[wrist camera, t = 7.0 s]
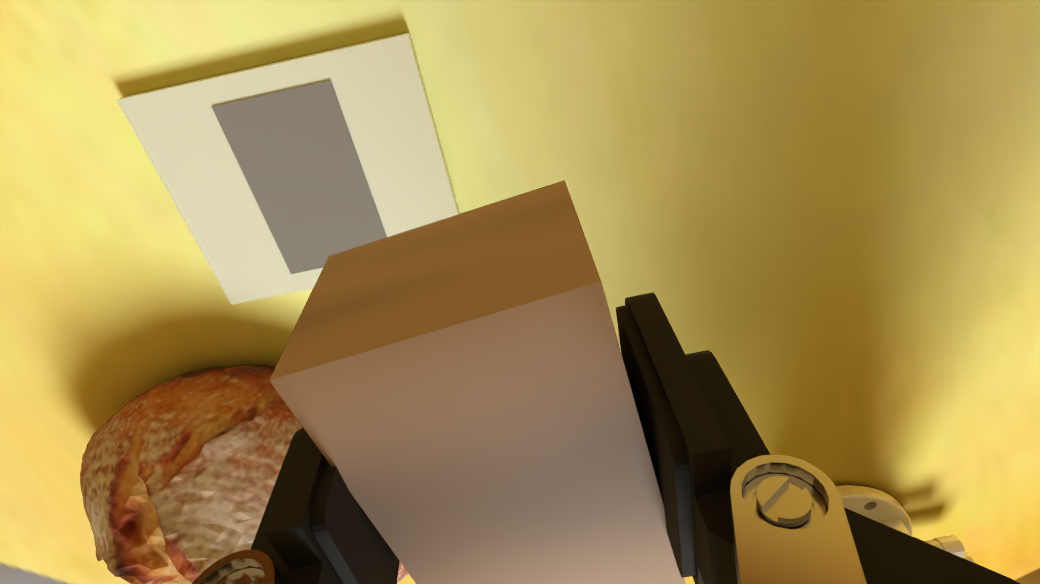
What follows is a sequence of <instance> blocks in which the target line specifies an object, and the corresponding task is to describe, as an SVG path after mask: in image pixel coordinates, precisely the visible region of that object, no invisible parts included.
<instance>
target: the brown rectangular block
mask: <svg viewBox="0 0 1040 584" xmlns="http://www.w3.org/2000/svg"><path fill="white" fill-rule="evenodd" d="M269 381H270V382H271V384H272V385H273V386H274V388H275V389H276V390H277V392H278V393H279V395H280V396H281V397H282V399H283V400H284V402H285V403H286V404H287V406H288V407H289V408H290V410H291V411H292V413H293V414H294V415H295V417H296V418H297V419H298V421H299V422H300V424H301V425H302V426H303V428H304V429H305V431H306V432H307V433H308V435H309V436H310V437H311V439H312V440H313V442H314V443H315V444H316V446H317V447H318V449H319V450H320V451H321V453H322V454H323V455H324V457H325V458H326V460H327V461H328V462H329V464H330V465H331V467H335V466H336V467H337V469H338V471H339V473H340V474H341V476H342V478H343V480H344V482H345V484H346V486H347V487H348V489H349V491H350V493H351V494H352V496H353V497H354V498H355V500H356V501H357V502H358V504H359V505H360V507H361V508H362V509H363V511H364V512H365V514H366V515H367V516H368V518H369V519H370V520H371V522H372V523H373V525H374V526H375V527H376V529H377V530H378V531H379V533H380V534H381V536H382V537H383V538H384V540H385V541H386V543H387V544H388V545H389V547H390V548H391V549H392V551H393V552H394V554H395V555H396V556H397V558H398V559H399V561H400V562H401V563H402V565H403V566H404V567H405V569H406V570H407V572H408V573H409V574H410V576H411V577H412V579H413V580H414V581H415V583H416V584H686V583H685V580H684V577H683V578H682V577H681V575H680V572H679V569H678V566H677V563H676V560H675V557H674V554H673V551H672V548H671V544H670V541H669V538H668V535H667V530H666V519H665V509H664V505H663V501H662V498H661V494H660V490H659V487H658V483H657V480H656V476H655V473H654V469H653V465H652V462H651V458H650V455H649V451H648V448H647V444H646V440H645V437H644V433H643V430H642V426H641V423H640V419H639V415H638V412H637V408H636V405H635V401H634V398H633V394H632V390H631V387H630V383H629V380H628V376H627V372H626V369H625V365H624V362H623V358H622V355H621V351H620V347H619V344H618V340H617V337H616V333H615V330H614V326H613V322H612V319H611V315H610V312H609V308H608V305H607V301H606V297H605V294H604V290H603V287H602V283H601V280H600V277H599V274H598V272H597V269H596V266H595V263H594V261H593V258H592V255H591V252H590V249H589V247H588V244H587V241H586V238H585V236H584V233H583V230H582V227H581V225H580V222H579V219H578V216H577V213H576V211H575V208H574V205H573V202H572V200H571V197H570V194H569V191H568V189H567V186H566V183H565V180H564V181H561V182H558V183H555V184H552V185H549V186H545V187H542V188H539V189H536V190H533V191H530V192H527V193H524V194H520V195H517V196H514V197H511V198H508V199H505V200H502V201H499V202H496V203H492V204H489V205H486V206H483V207H480V208H477V209H474V210H471V211H467V212H464V213H461V214H458V215H455V216H452V217H449V218H446V219H443V220H439V221H436V222H433V223H430V224H427V225H424V226H421V227H418V228H414V229H411V230H408V231H405V232H402V233H399V234H396V235H393V236H390V237H386V238H383V239H380V240H377V241H374V242H371V243H368V244H365V245H361V246H358V247H355V248H352V249H349V250H346V251H343V252H340V253H337V254H333V255H330V256H328V259H327V261H326V263H325V265H324V267H323V269H322V271H321V273H320V275H319V277H318V279H317V282H316V284H315V286H314V288H313V290H312V292H311V294H310V296H309V298H308V300H307V303H306V305H305V307H304V309H303V311H302V313H301V315H300V317H299V319H298V321H297V323H296V326H295V328H294V330H293V332H292V334H291V336H290V338H289V340H288V342H287V344H286V347H285V349H284V351H283V353H282V355H281V357H280V359H279V361H278V363H277V365H276V367H275V370H274V372H273V374H272V376H271V378H270V380H269Z"/></svg>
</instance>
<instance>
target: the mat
mask: <svg viewBox="0 0 1040 584" xmlns="http://www.w3.org/2000/svg"><path fill="white" fill-rule="evenodd" d="M117 101H118V103H119V105H120V106H121V108H122V110H123V112H124V114H125V115H126V117H127V119H128V121H129V123H130V124H131V126H132V128H133V130H134V131H135V133H136V135H137V137H138V139H139V140H140V142H141V144H142V146H143V148H144V149H145V151H146V153H147V155H148V157H149V158H150V160H151V162H152V164H153V166H154V167H155V169H156V171H157V173H158V174H159V176H160V178H161V180H162V182H163V183H164V185H165V187H166V189H167V191H168V192H169V194H170V196H171V198H172V200H173V201H174V203H175V205H176V207H177V209H178V210H179V212H180V214H181V216H182V217H183V219H184V221H185V223H186V225H187V226H188V228H189V230H190V232H191V234H192V235H193V237H194V239H195V241H196V243H197V244H198V246H199V248H200V250H201V252H202V253H203V255H204V257H205V259H206V260H207V262H208V264H209V266H210V268H211V269H212V271H213V273H214V275H215V277H216V278H217V280H218V282H219V284H220V286H221V287H222V289H223V291H224V293H225V295H226V296H227V298H228V300H229V302H230V303H231V305H233V304H238V303H243V302H248V301H253V300H258V299H262V298H267V297H272V296H277V295H282V294H287V293H292V292H296V291H301V290H306V289H311V288H314V286H315V284H316V282H317V279H318V277H319V275H320V273H321V271H322V269H323V267H324V265H325V263H326V261H327V259H328V256H330V255H333V254H337V253H340V252H343V251H346V250H349V249H352V248H355V247H358V246H361V245H365V244H368V243H371V242H374V241H377V240H380V239H383V238H386V237H390V236H393V235H396V234H399V233H402V232H405V231H408V230H411V229H414V228H418V227H421V226H424V225H427V224H430V223H433V222H436V221H439V220H443V219H446V218H449V217H452V216H455V215H458V214H460V213H459V210H458V206H457V202H456V199H455V195H454V191H453V188H452V184H451V181H450V177H449V173H448V170H447V166H446V162H445V159H444V155H443V152H442V148H441V144H440V141H439V137H438V133H437V130H436V126H435V123H434V119H433V115H432V112H431V108H430V104H429V101H428V97H427V94H426V90H425V86H424V83H423V79H422V76H421V72H420V68H419V65H418V61H417V57H416V54H415V50H414V47H413V43H412V39H411V36H410V32H408V33H403V34H399V35H394V36H390V37H386V38H381V39H377V40H372V41H368V42H364V43H359V44H355V45H350V46H346V47H342V48H337V49H333V50H328V51H324V52H320V53H315V54H311V55H306V56H302V57H297V58H293V59H289V60H284V61H280V62H275V63H271V64H267V65H262V66H258V67H253V68H249V69H245V70H240V71H236V72H231V73H227V74H223V75H218V76H214V77H209V78H205V79H201V80H196V81H192V82H187V83H183V84H178V85H174V86H170V87H165V88H161V89H156V90H152V91H148V92H143V93H139V94H134V95H130V96H126V97H123V98H121V99H118V100H117Z"/></svg>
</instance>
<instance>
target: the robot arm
mask: <svg viewBox="0 0 1040 584" xmlns="http://www.w3.org/2000/svg"><path fill="white" fill-rule="evenodd" d="M616 314H617V322H618V330H619V337H620V345H621V353H622V358H623V362H624V365H625V369H626V372H627V376H628V380H629V383H630V387H631V390H632V394H633V398H634V401H635V405H636V408H637V412H638V415H639V419H640V423H641V426H642V430H643V433H644V437H645V440H646V444H647V448H648V451H649V455H650V458H651V462H652V465H653V469H654V473H655V476H656V480H657V483H658V487H659V490H660V494H661V498H662V501H663V505H664V509H665V519H666V530H667V535H668V538H669V541H670V544H671V548H672V551H673V554H674V557H675V560H676V563H677V566H678V569H679V572H680V575H681V577H682V578H683V577H689V576H693V579H694V582H695V584H1020V583H1018V582H1016V581H1014V580H1012V579H1010V578H1008V577H1006V576H1003V575H1001V574H999V573H996V572H994V571H992V570H989V569H987V568H985V567H982V566H980V565H978V564H975V562H974V561H973V559H972V558H971V556H970V555H969V554H968V553H967V552H965V549H964V546H963V544H962V543H961V541H960V540H959V539H958V538H957V537H956V536H953V535H951V536H945V537H939V538H934V539H933V540H928V541H922V540H920V539H919V538H915V537H913V536H912V524H911V521H910V518H909V516H908V514H907V513H906V512H905V510H904V509H903V508H902V506H901V505H900V503H899V502H898V501H896V500H895V499H894V498H893V497H892V496H891V495H889V494H887V493H885V492H883V491H881V490H877V489H874V488H870V487H865V486H854V485H842V486H835V484H834V483H833V482H832V481H831V480H830V478H829V477H828V476H827V475H826V474H825V473H824V472H823V471H821V470H820V469H818V468H817V467H815V466H813V465H812V464H810V463H809V462H806V461H804V460H801V459H798V458H795V457H792V456H785V455H778V454H773V455H770V453H769V451H768V450H767V448H766V446H765V444H764V443H763V441H762V439H761V437H760V436H759V434H758V432H757V430H756V429H755V427H754V425H753V423H752V421H751V420H750V418H749V416H748V414H747V413H746V411H745V409H744V407H743V406H742V404H741V402H740V400H739V399H738V397H737V395H736V393H735V392H734V390H733V388H732V386H731V385H730V383H729V381H728V379H727V377H726V376H725V374H724V372H723V370H722V369H721V367H720V365H719V363H718V362H717V360H716V358H715V357H714V355H713V354H712V352H710V351H709V350H707V351H702V352H697V353H691V354H686V355H685V353H684V351H683V349H682V347H681V345H680V343H679V341H678V339H677V337H676V335H675V333H674V331H673V329H672V327H671V325H670V323H669V321H668V319H667V317H666V315H665V313H664V311H663V309H662V307H661V305H660V303H659V301H658V299H657V297H656V295H655V294H654V293H648V294H643V295H638V296H633V297H628V298H626V299H625V306H620V307H616ZM399 563H400V561H399V559H398V558H397V556H396V555H395V554H394V552H393V551H392V549H391V548H390V547H389V545H388V544H387V543H386V541H385V540H384V538H383V537H382V536H381V534H380V533H379V531H378V530H377V529H376V527H375V526H374V525H373V523H372V522H371V520H370V519H369V518H368V516H367V515H366V514H365V512H364V511H363V509H362V508H361V507H360V505H359V504H358V502H357V501H356V500H355V498H354V497H353V496H352V494H351V493H350V491H349V489H348V487H347V486H346V484H345V482H344V480H343V478H342V476H341V474H340V473H339V471H338V469H337V467H336V466H335V467H331V465H330V464H329V462H328V461H327V460H326V458H325V457H324V455H323V454H322V453H321V451H320V450H319V449H318V447H317V446H316V444H315V443H314V442H313V440H312V439H311V437H310V436H309V435H308V433H307V432H306V431H305V429H304V428H303V426H302V428H301V429H299V430H298V431H296V432H295V434H294V436H293V438H292V440H291V442H290V445H289V448H288V450H287V453H286V456H285V458H284V461H283V464H282V466H281V469H280V472H279V474H278V477H277V480H276V482H275V485H274V488H273V490H272V493H271V496H270V498H269V501H268V504H267V506H266V509H265V512H264V514H263V517H262V520H261V522H260V525H259V528H258V530H257V533H256V536H255V538H254V541H253V544H252V546H251V549H250V550H242V551H238V552H235V553H231V554H229V555H227V556H225V557H223V558H221V559H219V560H218V561H216V562H215V563H213V564H212V565H211V566H209V567H208V568H207V569H206V570H204V571H203V572H202V573H201V574H200V575H199V576H198V577H197V578H196V579H195V580H194V582H193V583H192V584H397V579H398V571H399Z"/></svg>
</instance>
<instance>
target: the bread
mask: <svg viewBox="0 0 1040 584" xmlns="http://www.w3.org/2000/svg"><path fill="white" fill-rule="evenodd" d="M274 370H275V367H270V366H259V365H242V366H236V367H231V368H223V367H215V368H210V369H205V370H199V371H195V372H190V373H186V374H183V375H180V376H176V377H175V378H173V379H171V380H169V381H167V382H164V383H162V384H159V385H157V386H155V387H154V388H152V389H150V390H148V391H146V392H145V393H143V394H141V395H140V396H138V397H136V398H134V399H133V400H132V401H130V402H129V403H128V404H127V405H125V406H124V407H123V408H122V409H121V410H119V411H118V412H117V413H116V414H114V415H113V416H112V417H111V418H109V419H108V420H107V422H106V423H105V424H104V425H103V426H102V427H101V428H99V429H98V430H97V431H96V432H95V433H94V434H93V435H92V437H91V439H90V441H89V442H88V444H87V447H86V450H85V452H84V454H83V458H82V465H81V472H80V483H81V490H82V496H83V503H84V509H85V512H86V515H87V517H88V519H89V521H90V524H91V529H92V532H93V534H94V539H95V546H96V557H97V560H98V561H100V560H104V561H105V563H106V564H107V568H108V570H109V571H110V572H111V573H112V574H114V575H115V576H116V577H121V578H122V579H124V580H126V581H127V582H129V583H131V584H192V583H193V582H194V580H195V579H196V578H197V577H198V576H199V575H200V574H201V573H202V572H203V571H204V570H206V569H207V568H208V567H209V566H211V565H212V564H213V563H215V562H216V561H218V560H219V559H221V558H223V557H225V556H227V555H229V554H231V553H235V552H238V551H242V550H250V549H251V546H252V544H253V541H254V538H255V536H256V533H257V530H258V528H259V525H260V522H261V520H262V517H263V514H264V512H265V509H266V506H267V504H268V501H269V498H270V496H271V493H272V490H273V488H274V485H275V482H276V480H277V477H278V474H279V472H280V469H281V466H282V464H283V461H284V458H285V456H286V453H287V450H288V448H289V445H290V442H291V440H292V438H293V436H294V434H295V432H296V431H298V430H299V429H301V428H302V425H301V424H300V422H299V421H298V419H297V418H296V417H295V415H294V414H293V413H292V411H291V410H290V408H289V407H288V406H287V404H286V403H285V402H284V400H283V399H282V397H281V396H280V395H279V393H278V392H277V390H276V389H275V388H274V386H273V385H272V384H271V382H270V381H269V380H270V378H271V376H272V374H273V372H274ZM408 575H409V573H408V572H407V570H406V569H405V567H404V566H403V565H402V563H401V562H400V563H399V571H398V579H397V582H399V581H400V580H402V579H403V578H405V577H406V576H408Z"/></svg>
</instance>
